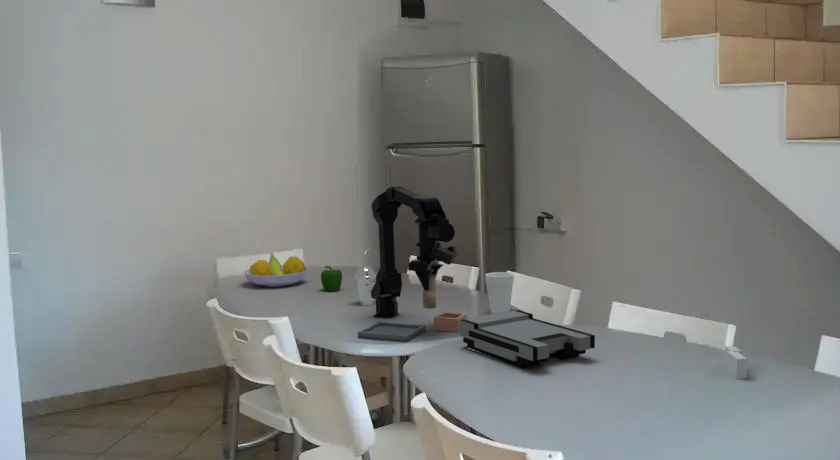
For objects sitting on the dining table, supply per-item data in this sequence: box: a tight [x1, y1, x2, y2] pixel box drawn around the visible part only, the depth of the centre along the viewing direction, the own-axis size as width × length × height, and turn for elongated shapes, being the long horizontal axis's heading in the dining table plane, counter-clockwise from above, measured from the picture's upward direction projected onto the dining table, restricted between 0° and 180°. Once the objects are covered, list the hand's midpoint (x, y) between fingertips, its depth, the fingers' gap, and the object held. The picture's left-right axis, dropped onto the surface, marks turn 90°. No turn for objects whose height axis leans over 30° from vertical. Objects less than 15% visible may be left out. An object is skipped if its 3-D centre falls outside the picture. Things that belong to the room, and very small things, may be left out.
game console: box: [459, 309, 596, 370], centre depth 219 cm, size 21×32×8 cm, turn 32°
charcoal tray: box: [357, 321, 426, 343], centre depth 244 cm, size 16×14×2 cm
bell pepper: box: [320, 264, 343, 292], centre depth 317 cm, size 8×8×10 cm
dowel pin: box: [422, 274, 437, 309], centre depth 247 cm, size 4×4×10 cm
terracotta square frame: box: [433, 311, 468, 333], centre depth 250 cm, size 8×8×4 cm
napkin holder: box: [724, 345, 748, 380], centre depth 199 cm, size 15×11×6 cm
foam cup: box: [484, 271, 515, 315], centre depth 270 cm, size 10×9×13 cm
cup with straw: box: [353, 246, 377, 306], centre depth 289 cm, size 8×9×20 cm
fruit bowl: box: [244, 252, 310, 288], centre depth 335 cm, size 28×27×11 cm
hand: (429, 289), depth 247 cm, fingers closed on dowel pin, 4 cm apart
